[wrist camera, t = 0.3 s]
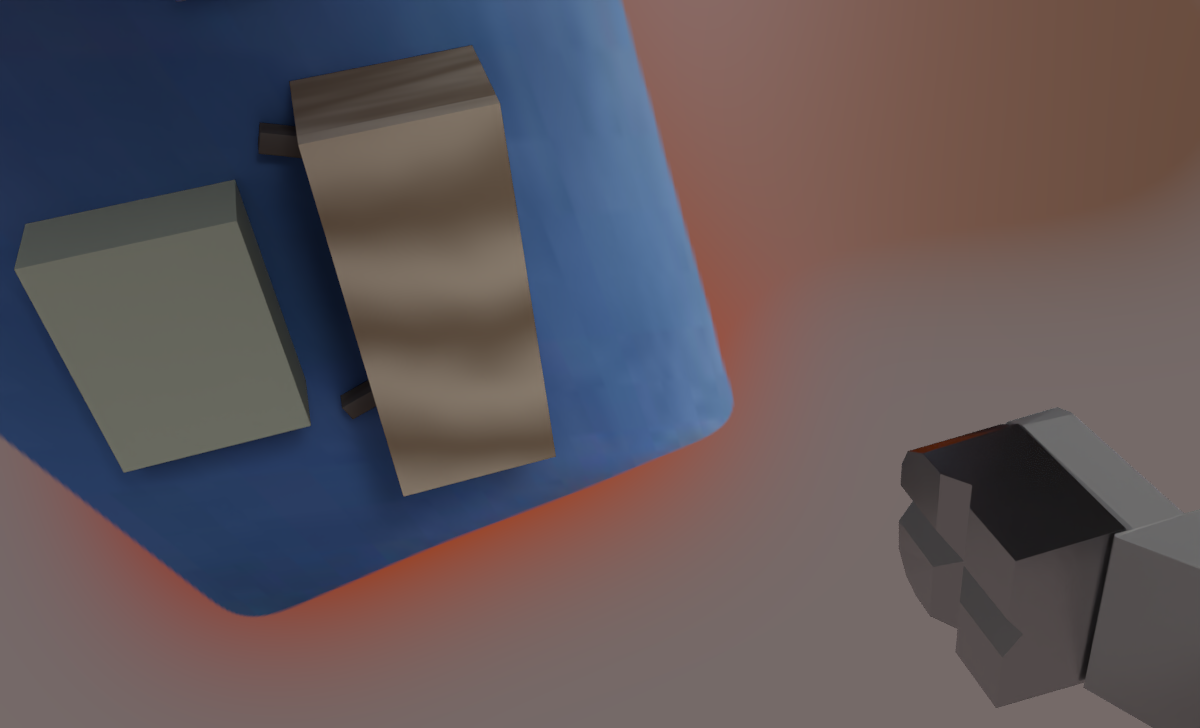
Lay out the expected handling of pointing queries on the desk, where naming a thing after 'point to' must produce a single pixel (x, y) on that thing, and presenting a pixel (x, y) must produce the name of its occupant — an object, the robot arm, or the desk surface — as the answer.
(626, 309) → the desk surface
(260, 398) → the case
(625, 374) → the desk surface
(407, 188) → the low shelf
